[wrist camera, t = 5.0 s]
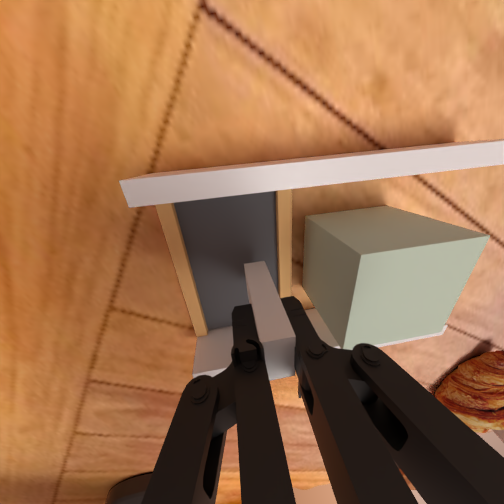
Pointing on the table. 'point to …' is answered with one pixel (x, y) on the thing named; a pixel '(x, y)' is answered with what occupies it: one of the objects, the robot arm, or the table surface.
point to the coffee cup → (499, 434)
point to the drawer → (227, 250)
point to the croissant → (476, 392)
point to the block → (385, 272)
